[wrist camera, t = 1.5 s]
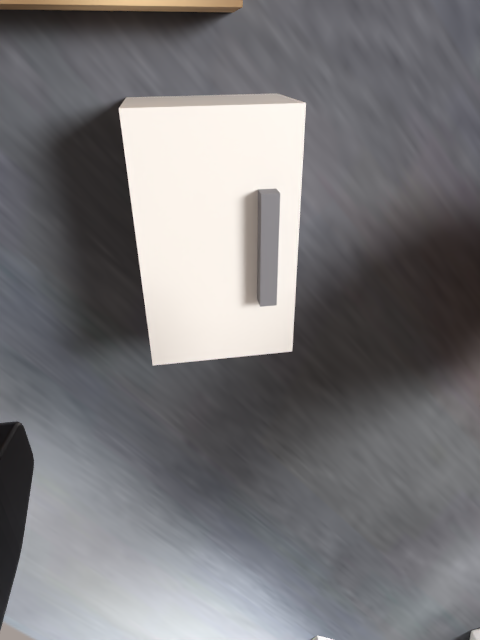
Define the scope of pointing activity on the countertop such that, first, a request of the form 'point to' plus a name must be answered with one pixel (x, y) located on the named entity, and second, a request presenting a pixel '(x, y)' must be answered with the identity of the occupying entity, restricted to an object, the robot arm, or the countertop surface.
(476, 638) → the milk
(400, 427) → the countertop surface
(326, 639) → the milk
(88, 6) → the wooden board
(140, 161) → the door
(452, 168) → the countertop surface
